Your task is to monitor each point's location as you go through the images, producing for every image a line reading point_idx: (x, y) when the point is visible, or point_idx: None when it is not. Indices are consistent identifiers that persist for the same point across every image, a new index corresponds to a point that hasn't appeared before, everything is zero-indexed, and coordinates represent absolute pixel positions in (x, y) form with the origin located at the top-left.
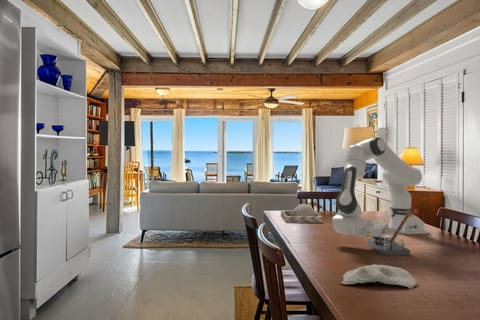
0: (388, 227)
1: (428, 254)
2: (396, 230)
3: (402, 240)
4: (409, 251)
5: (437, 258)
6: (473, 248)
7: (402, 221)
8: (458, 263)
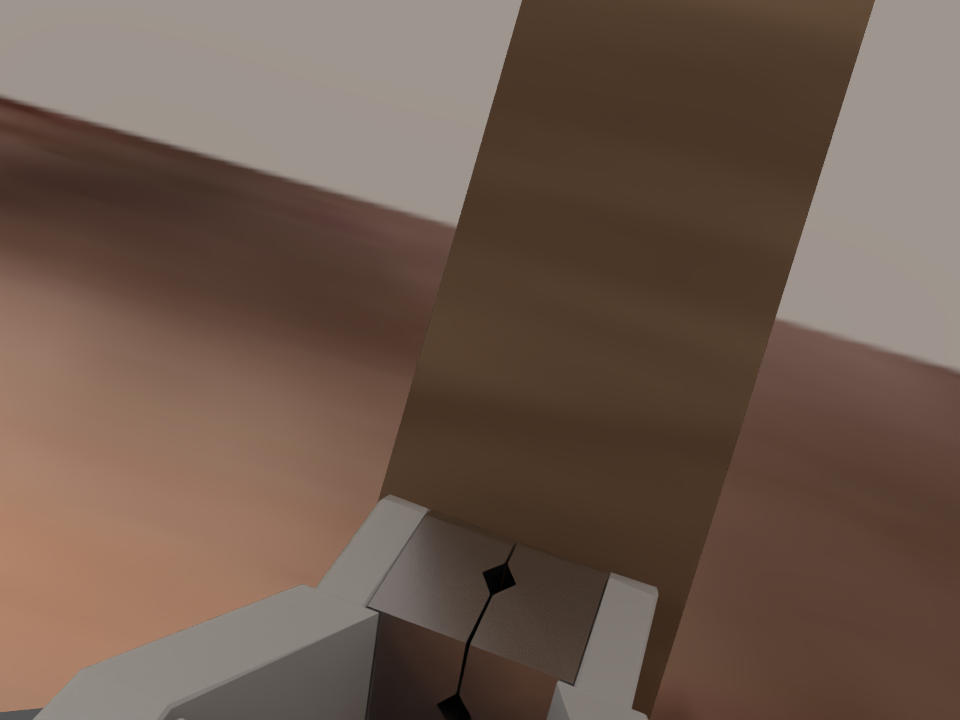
0: (159, 675)
1: None
2: (703, 534)
3: None
4: None
5: None
6: (110, 133)
7: (848, 69)
8: None
